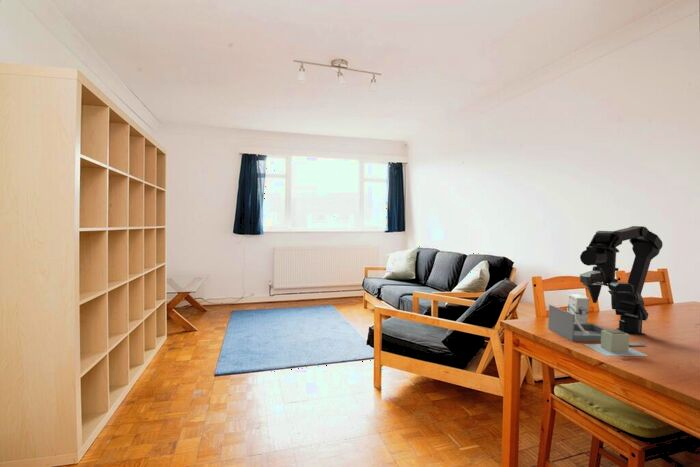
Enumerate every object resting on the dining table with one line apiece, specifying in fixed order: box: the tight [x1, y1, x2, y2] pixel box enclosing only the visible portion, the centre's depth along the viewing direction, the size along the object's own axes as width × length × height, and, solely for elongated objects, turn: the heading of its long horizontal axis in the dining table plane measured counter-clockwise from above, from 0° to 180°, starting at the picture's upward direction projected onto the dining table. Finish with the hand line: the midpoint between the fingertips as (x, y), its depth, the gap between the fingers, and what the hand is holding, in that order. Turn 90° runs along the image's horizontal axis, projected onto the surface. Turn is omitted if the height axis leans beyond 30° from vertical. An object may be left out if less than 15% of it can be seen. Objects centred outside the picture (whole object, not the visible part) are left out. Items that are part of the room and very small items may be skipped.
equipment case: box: [547, 304, 608, 342], centre depth 129 cm, size 18×14×10 cm
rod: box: [629, 341, 647, 347], centre depth 118 cm, size 8×1×1 cm, turn 91°
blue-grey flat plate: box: [583, 343, 648, 357], centre depth 114 cm, size 14×10×1 cm
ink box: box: [566, 293, 590, 324], centre depth 145 cm, size 9×5×12 cm, turn 168°
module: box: [600, 329, 630, 352], centre depth 114 cm, size 6×4×6 cm
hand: (603, 306), depth 126 cm, fingers open, 9 cm apart
